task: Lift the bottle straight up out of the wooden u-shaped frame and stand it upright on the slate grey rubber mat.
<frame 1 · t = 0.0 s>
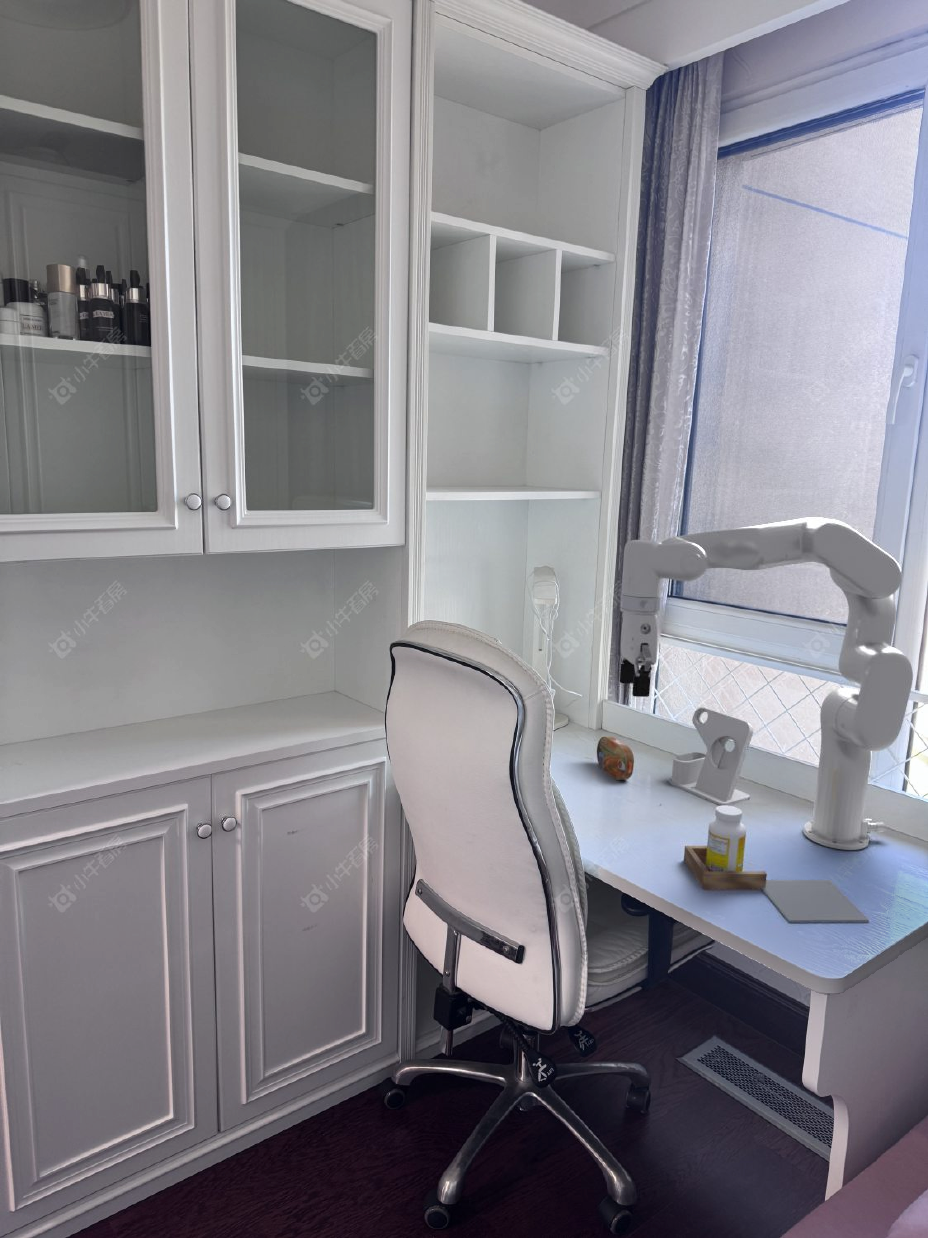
hand: (633, 689, 170), 31 cm above the table, tool pointing down, fingers open, 9 cm apart
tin: (614, 774, 211), on the table
wooden u-shaped frame: (723, 874, 161), on the table
phone holder: (708, 791, 203), on the table
supplement bottle: (723, 875, 161), on the table
mat: (809, 901, 152), on the table
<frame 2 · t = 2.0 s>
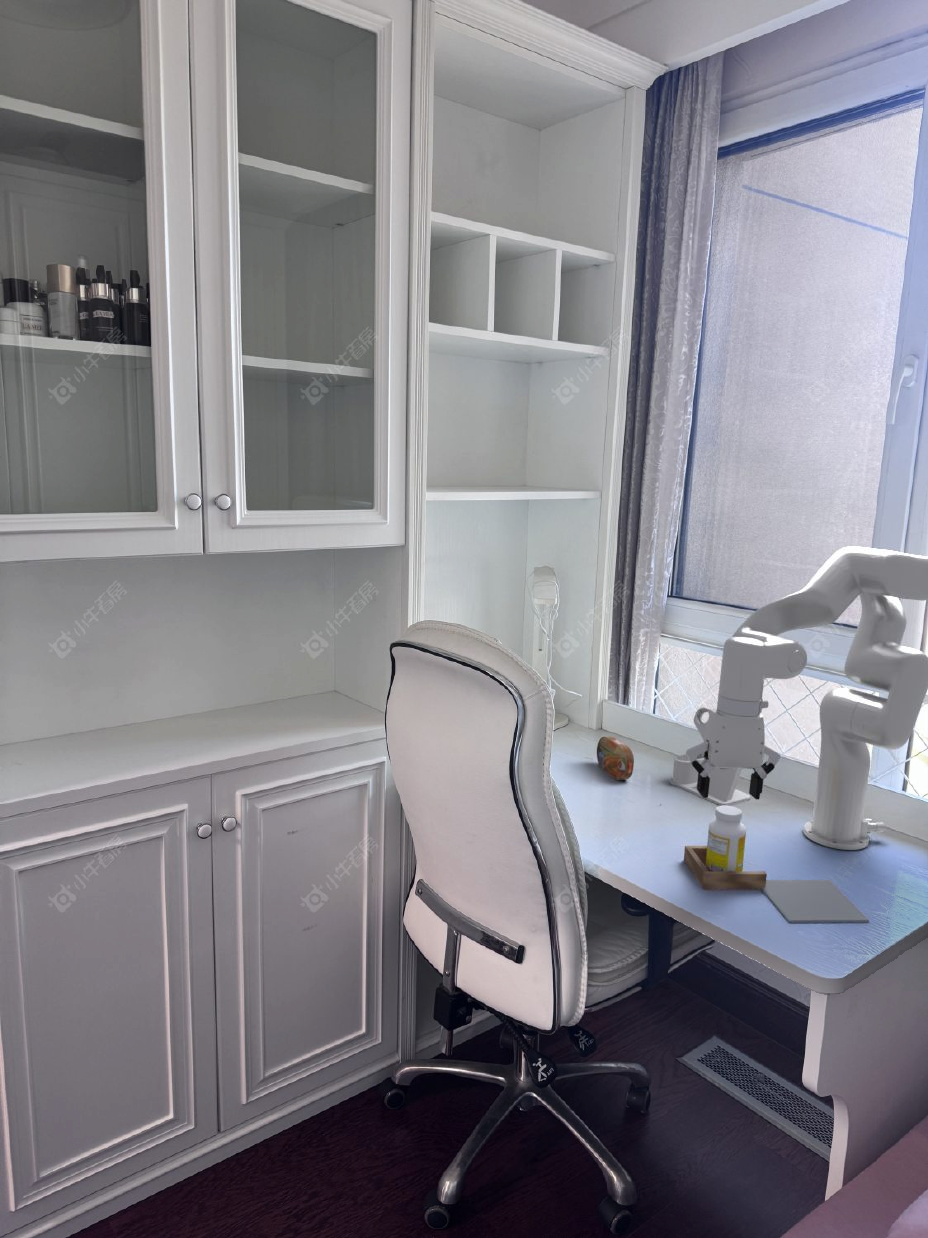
hand: (728, 796, 158), 16 cm above the table, tool pointing down, fingers open, 9 cm apart
nothing on the table moved.
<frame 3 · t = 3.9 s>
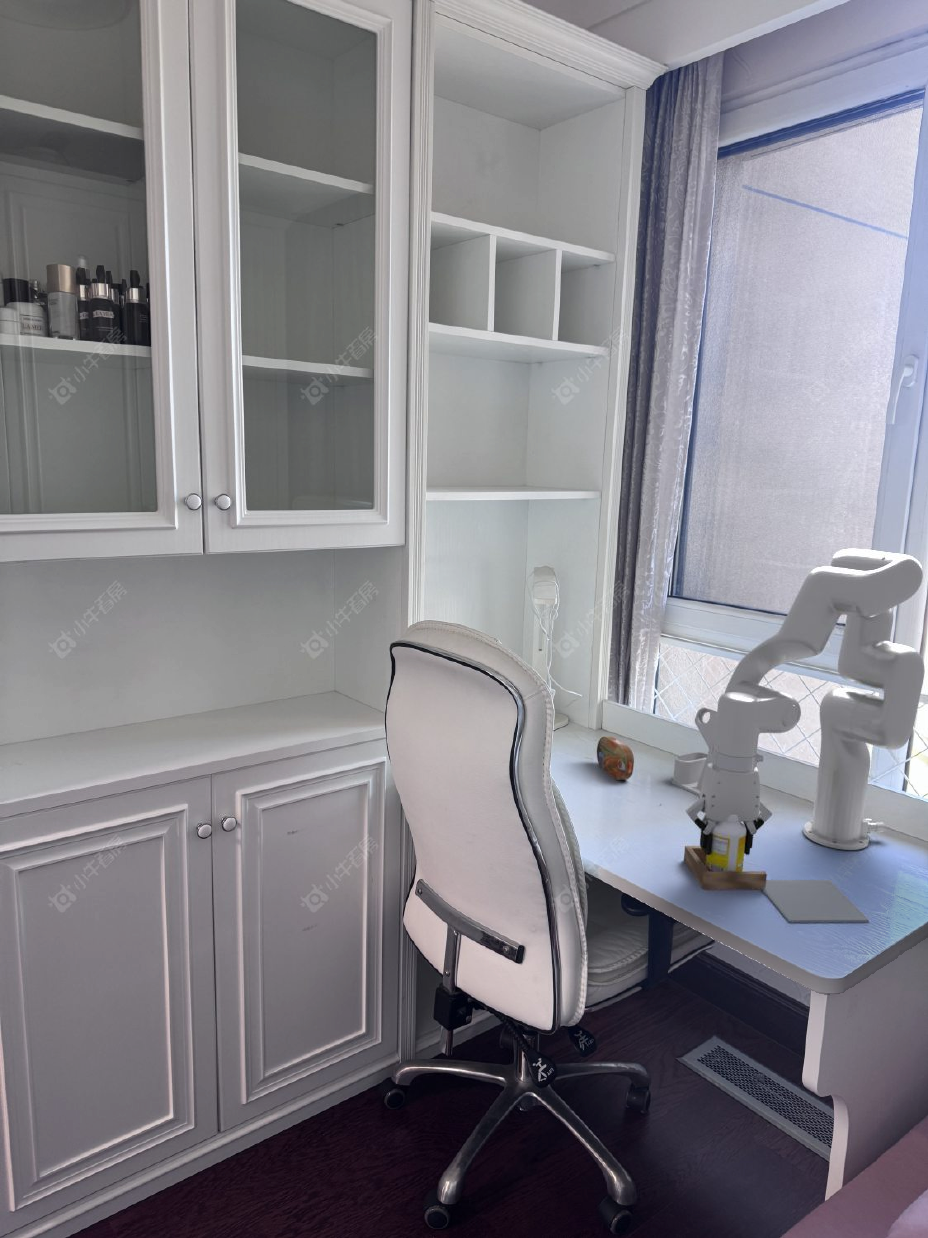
hand: (725, 851, 160), 5 cm above the table, tool pointing down, fingers closed on supplement bottle, 6 cm apart
supplement bottle: (723, 875, 161), on the table, touching gripper
everything else where it was.
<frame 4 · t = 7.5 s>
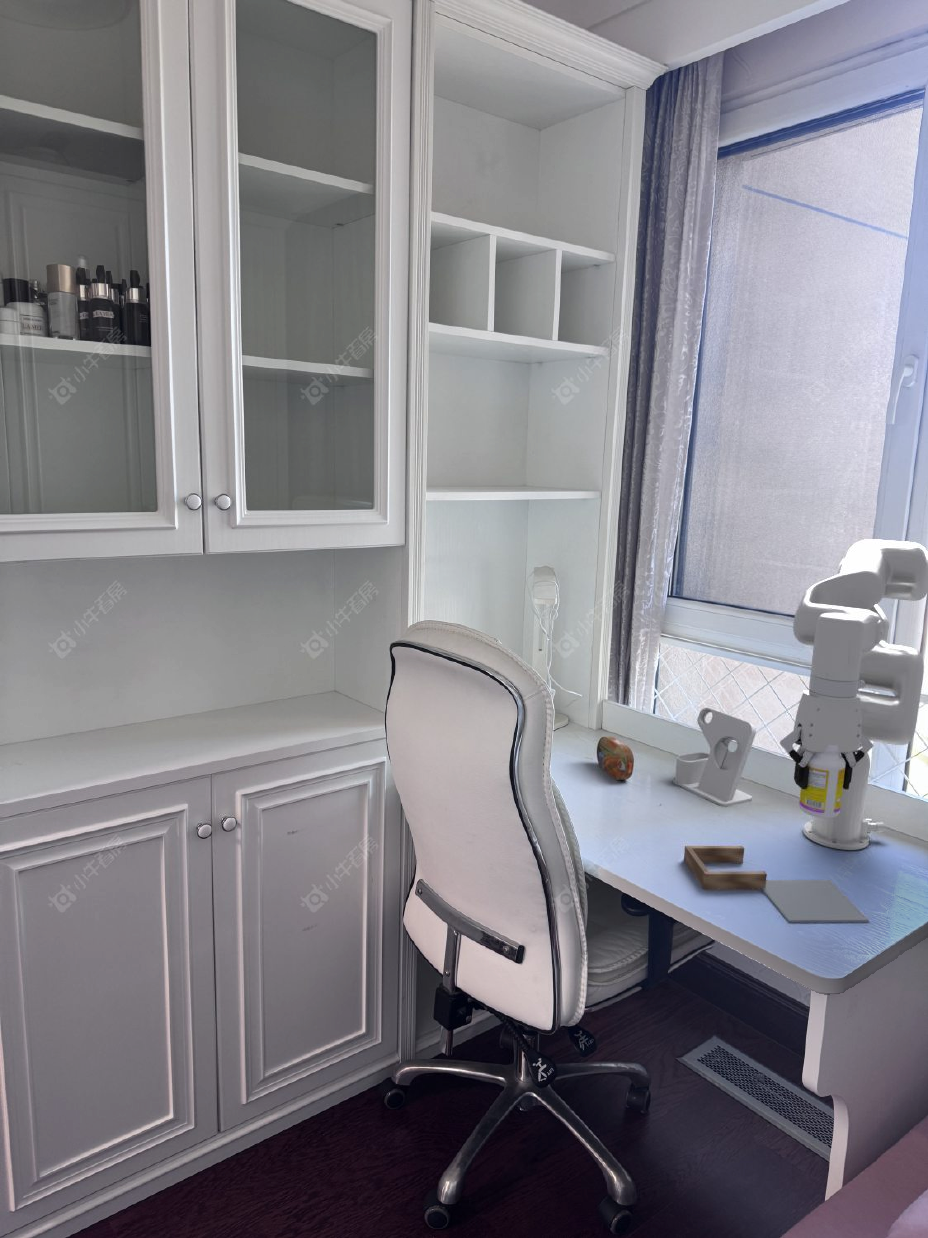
hand: (821, 785, 148), 22 cm above the table, tool pointing down, fingers closed on supplement bottle, 6 cm apart
supplement bottle: (818, 812, 149), point 17 cm above the table, touching gripper
everything else where it was.
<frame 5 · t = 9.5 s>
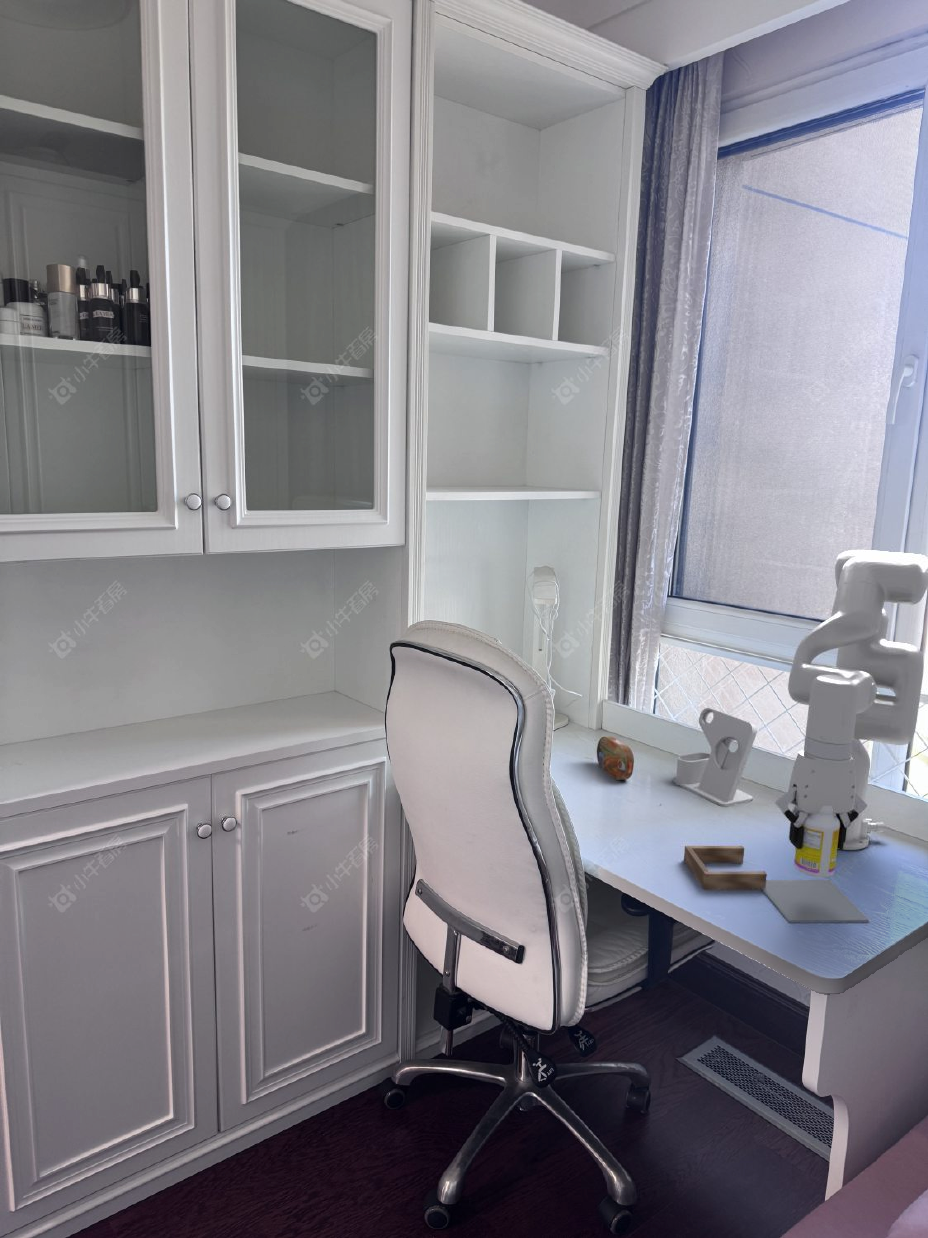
hand: (816, 845, 150), 11 cm above the table, tool pointing down, fingers closed on supplement bottle, 6 cm apart
supplement bottle: (813, 871, 151), point 6 cm above the table, touching gripper
everything else where it was.
when the fingers open (7 cm above the table, at t = 11.3 s): supplement bottle drops 1 cm, resting on mat.
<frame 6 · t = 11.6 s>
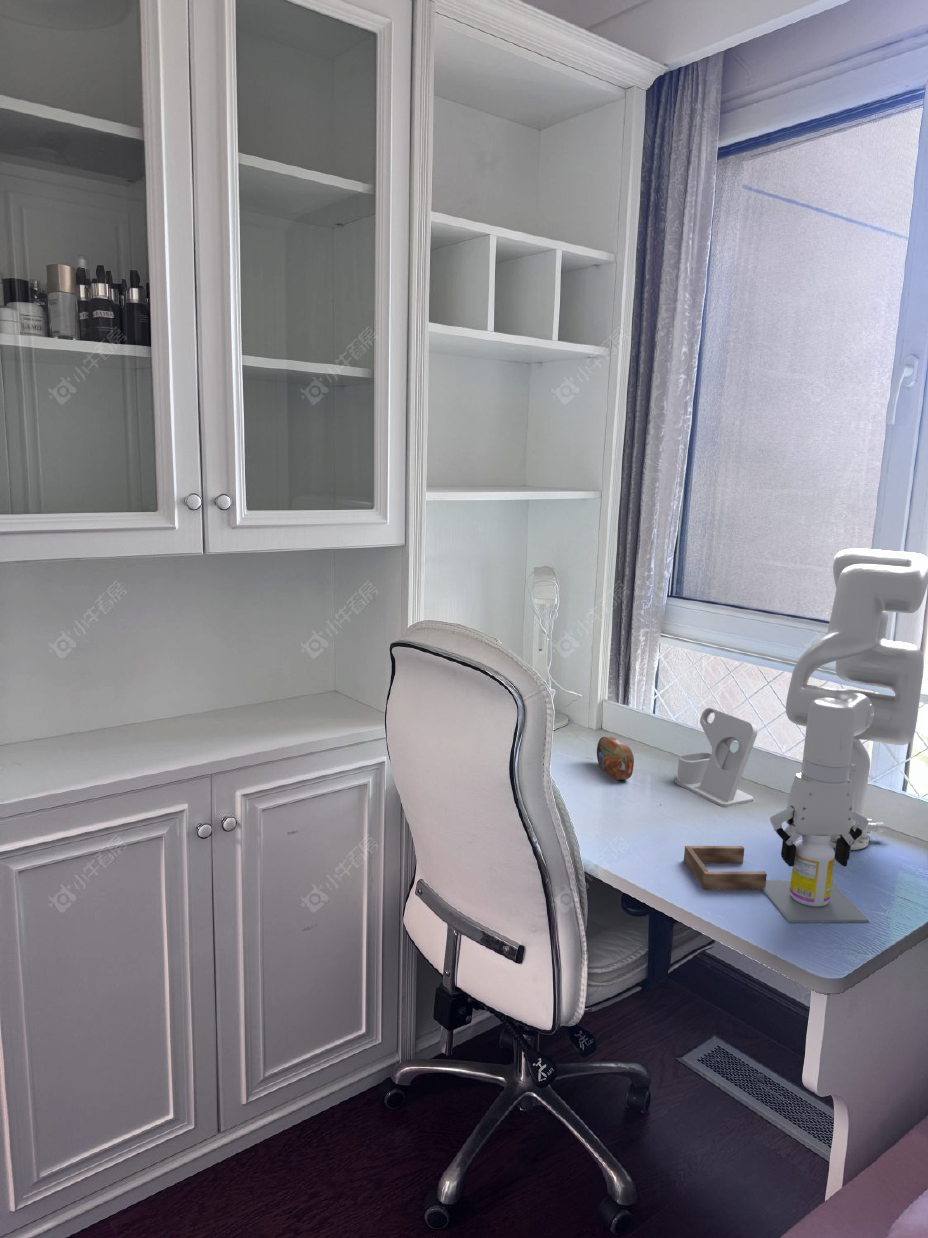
hand: (814, 863, 151), 7 cm above the table, tool pointing down, fingers open, 9 cm apart
supplement bottle: (808, 900, 152), resting on mat
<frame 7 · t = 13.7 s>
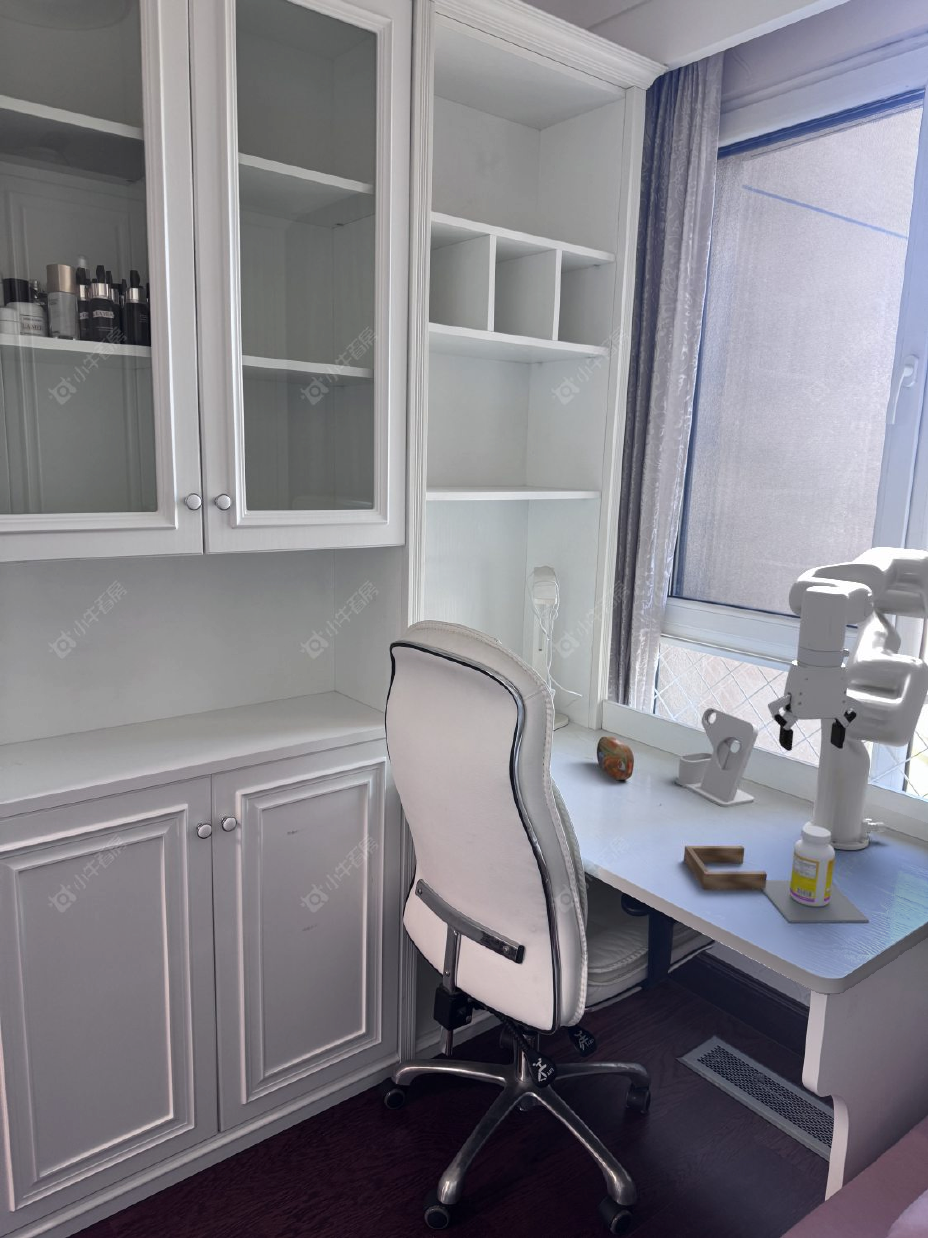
hand: (811, 747, 157), 25 cm above the table, tool pointing down, fingers open, 9 cm apart
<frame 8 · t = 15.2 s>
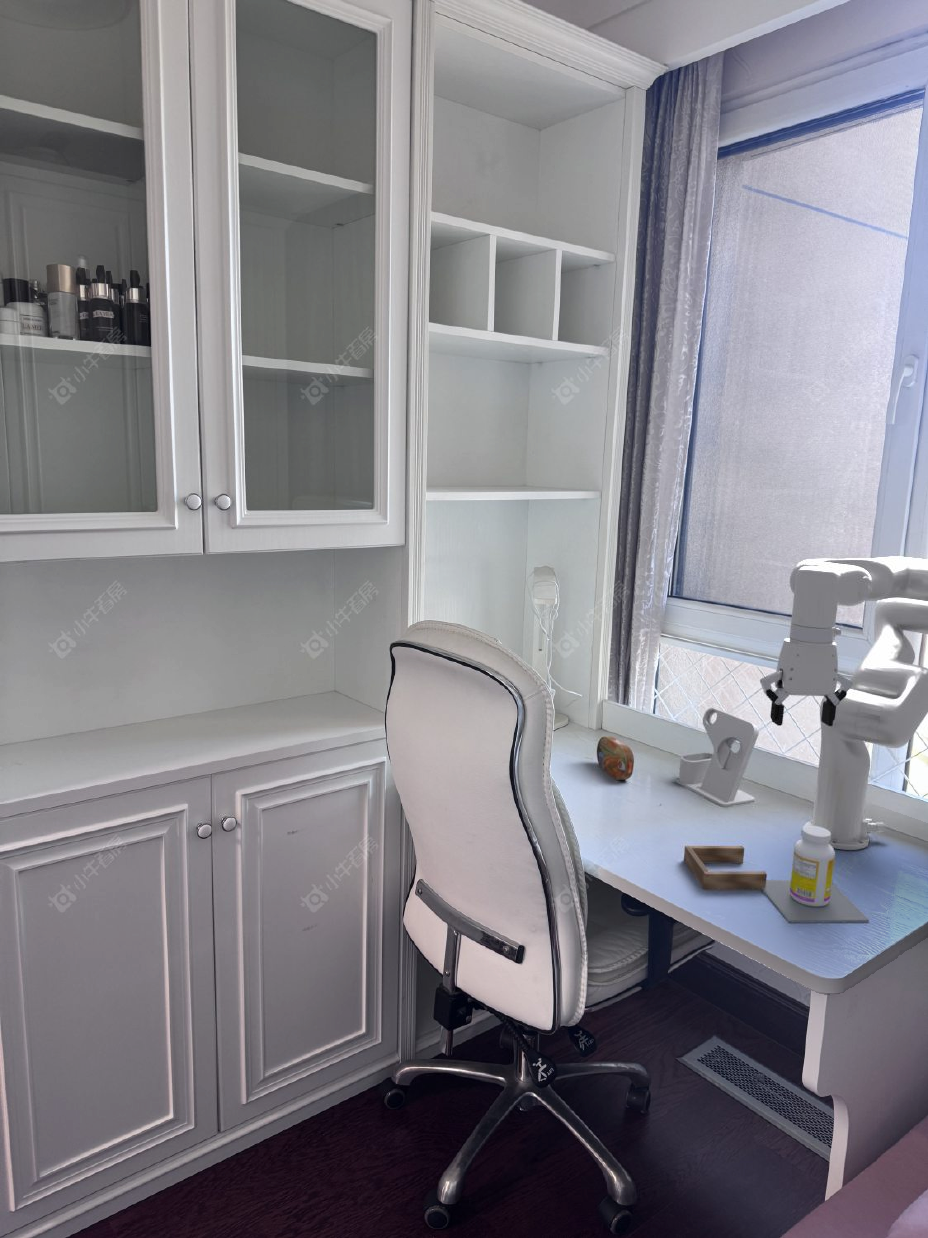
hand: (801, 723, 161), 28 cm above the table, tool pointing down, fingers open, 9 cm apart
at the end: supplement bottle inside the target area on the mat (0.1 cm from its centre), point 0.2 cm above the mat's base; supplement bottle tilted 0°; the gripper is holding nothing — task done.
